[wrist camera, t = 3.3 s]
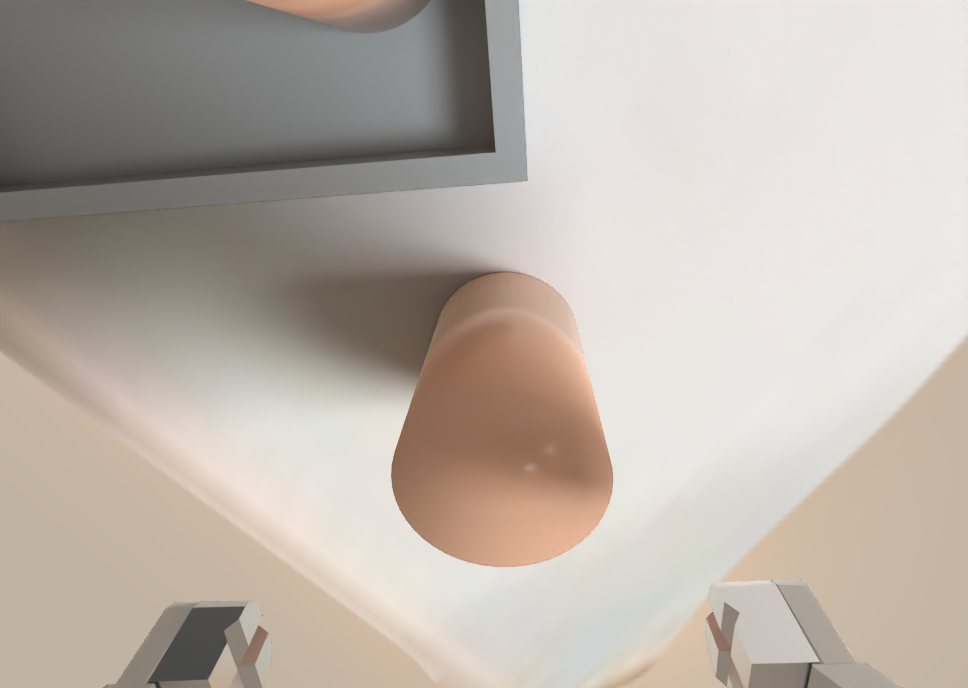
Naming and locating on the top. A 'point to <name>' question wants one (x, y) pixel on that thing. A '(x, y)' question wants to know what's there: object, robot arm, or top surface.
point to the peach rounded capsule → (503, 429)
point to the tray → (249, 104)
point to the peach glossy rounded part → (352, 12)
